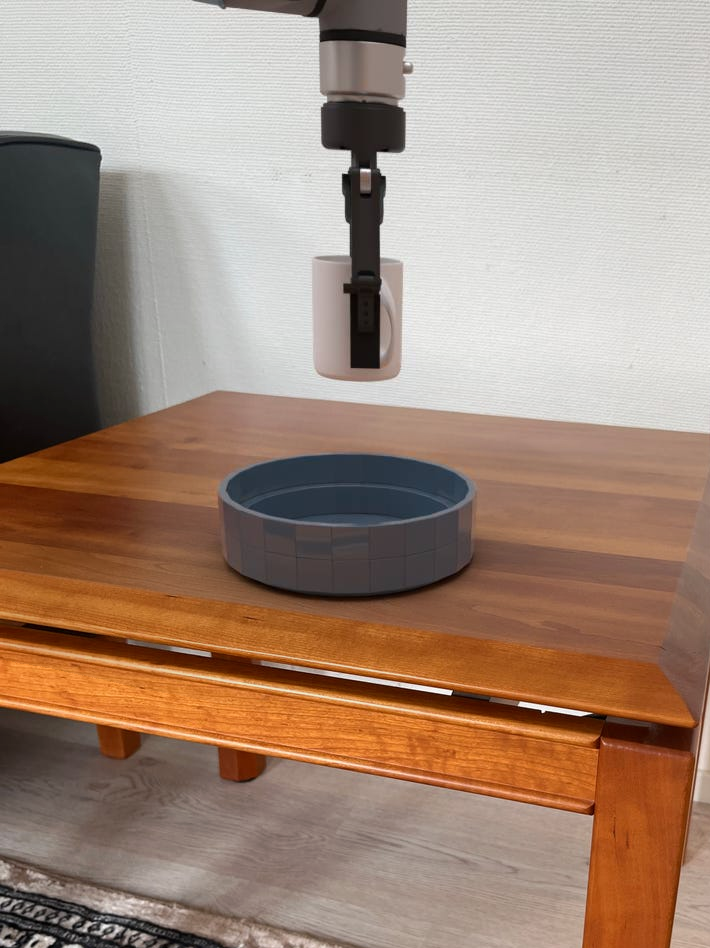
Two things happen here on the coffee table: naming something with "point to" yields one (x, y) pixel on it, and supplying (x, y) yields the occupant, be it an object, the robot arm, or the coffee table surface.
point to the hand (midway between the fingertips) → (363, 357)
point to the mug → (335, 319)
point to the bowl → (347, 522)
